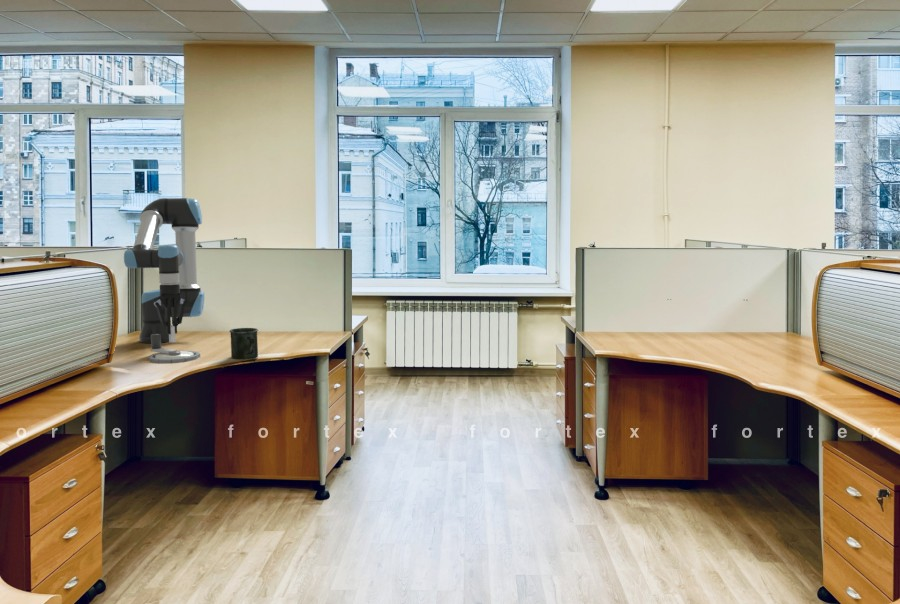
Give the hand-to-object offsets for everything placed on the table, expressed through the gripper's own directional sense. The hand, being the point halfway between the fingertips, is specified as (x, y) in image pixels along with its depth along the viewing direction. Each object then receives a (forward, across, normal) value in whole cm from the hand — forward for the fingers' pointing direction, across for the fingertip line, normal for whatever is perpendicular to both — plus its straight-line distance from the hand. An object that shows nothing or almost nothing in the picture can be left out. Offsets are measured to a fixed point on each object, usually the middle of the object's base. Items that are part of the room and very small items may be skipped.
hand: (172, 341), depth 287 cm
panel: (+6, +3, +10) cm, 12 cm away
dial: (+5, +4, +8) cm, 10 cm away
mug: (+6, -18, +28) cm, 34 cm away
